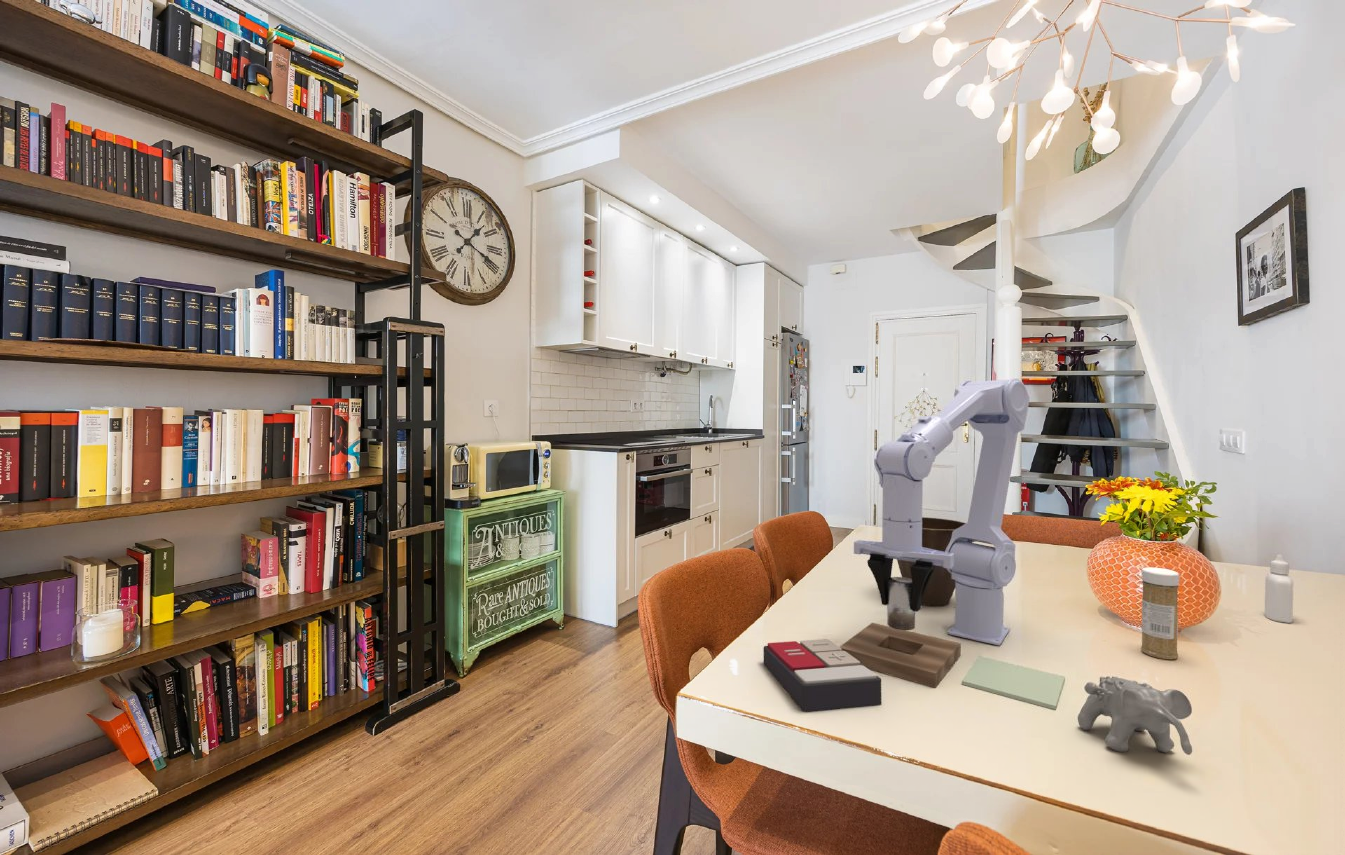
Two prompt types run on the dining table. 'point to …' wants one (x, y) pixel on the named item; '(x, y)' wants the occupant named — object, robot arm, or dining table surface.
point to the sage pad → (1015, 682)
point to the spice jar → (1160, 612)
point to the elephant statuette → (1136, 712)
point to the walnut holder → (921, 667)
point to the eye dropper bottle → (1279, 592)
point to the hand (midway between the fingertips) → (901, 606)
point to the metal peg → (900, 604)
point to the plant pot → (940, 583)
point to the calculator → (822, 675)
